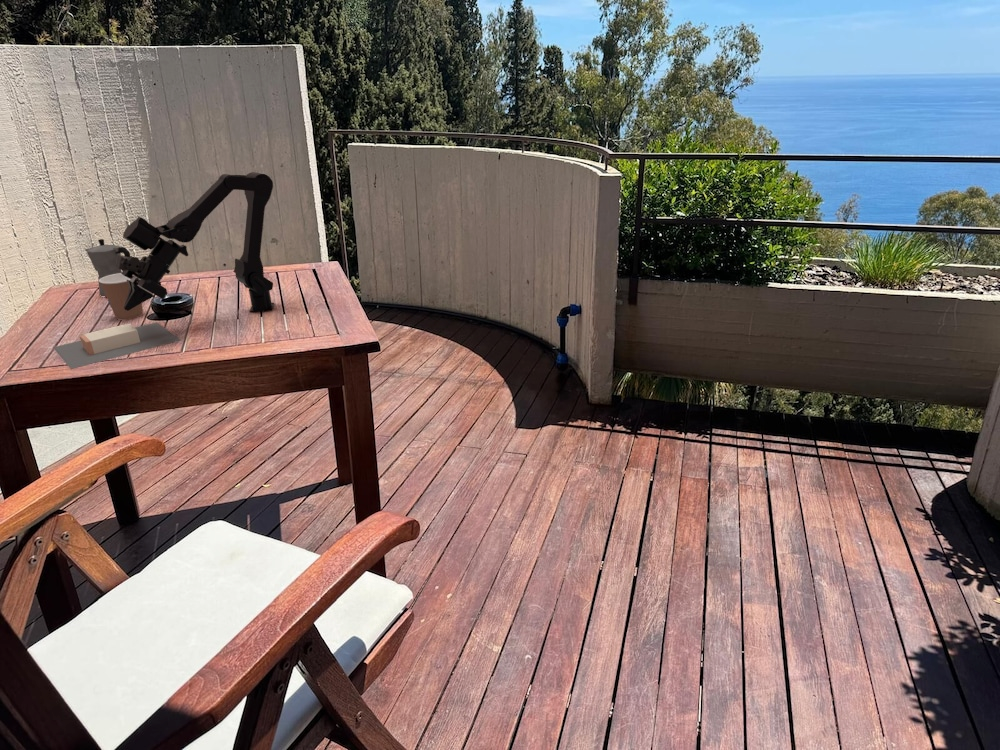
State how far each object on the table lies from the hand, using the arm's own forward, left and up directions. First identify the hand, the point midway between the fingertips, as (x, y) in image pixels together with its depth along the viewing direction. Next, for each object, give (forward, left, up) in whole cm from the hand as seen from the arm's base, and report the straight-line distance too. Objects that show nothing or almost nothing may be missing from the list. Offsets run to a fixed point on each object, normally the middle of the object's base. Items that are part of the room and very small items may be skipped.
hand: (125, 309), depth 175 cm
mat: (+2, -3, -9) cm, 10 cm away
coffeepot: (-48, -17, -9) cm, 52 cm away
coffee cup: (-22, -7, -9) cm, 25 cm away
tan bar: (0, +1, -7) cm, 7 cm away
